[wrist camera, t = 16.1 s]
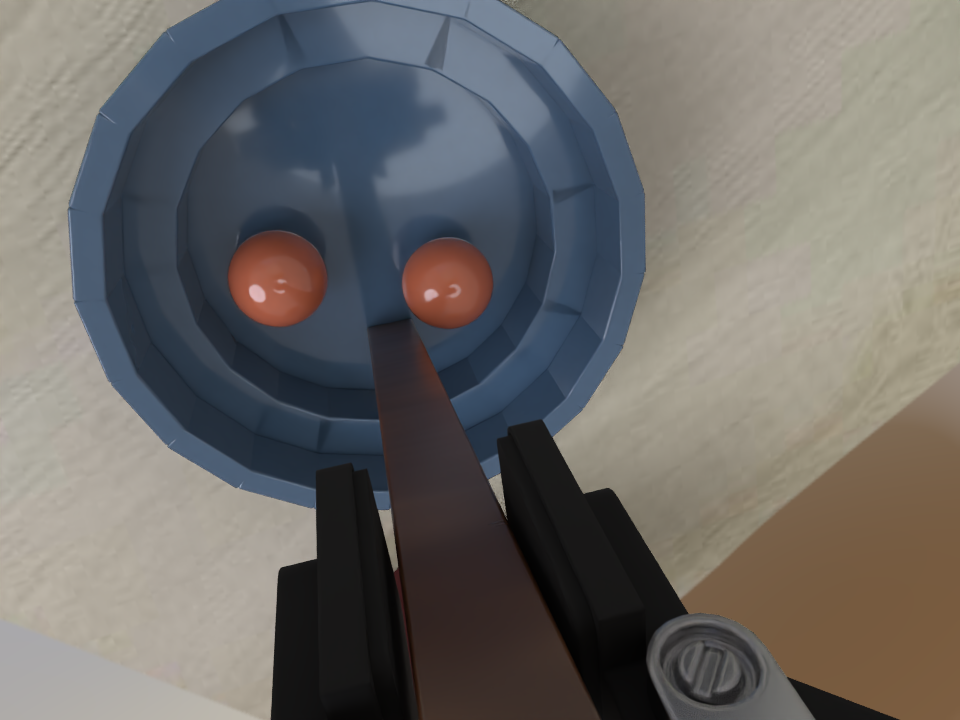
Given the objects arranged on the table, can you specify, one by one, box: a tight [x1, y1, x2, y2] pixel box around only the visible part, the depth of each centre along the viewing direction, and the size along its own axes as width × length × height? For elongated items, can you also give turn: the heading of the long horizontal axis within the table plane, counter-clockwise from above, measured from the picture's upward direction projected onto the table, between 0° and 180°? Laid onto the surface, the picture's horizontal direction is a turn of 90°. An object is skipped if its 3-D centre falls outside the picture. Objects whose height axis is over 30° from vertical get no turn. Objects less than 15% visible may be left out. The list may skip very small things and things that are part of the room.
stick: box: [367, 319, 602, 720], centre depth 16 cm, size 2×2×20 cm
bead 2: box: [401, 237, 494, 330], centre depth 23 cm, size 3×3×3 cm
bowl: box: [68, 0, 646, 510], centre depth 22 cm, size 16×16×5 cm
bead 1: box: [227, 229, 329, 328], centre depth 22 cm, size 3×3×3 cm
